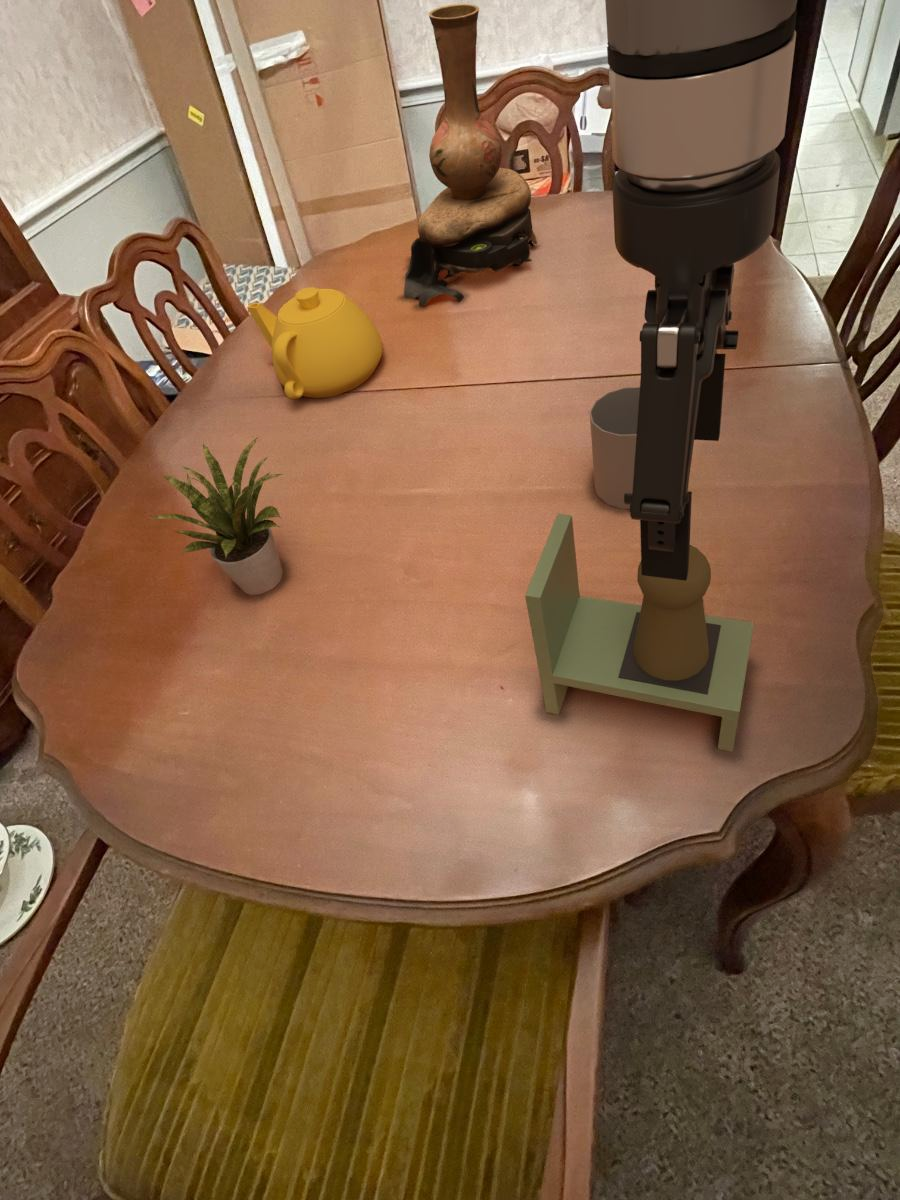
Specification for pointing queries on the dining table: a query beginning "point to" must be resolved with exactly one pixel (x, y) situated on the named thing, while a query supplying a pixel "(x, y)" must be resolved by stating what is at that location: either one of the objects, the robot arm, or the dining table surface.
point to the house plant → (233, 525)
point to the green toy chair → (622, 645)
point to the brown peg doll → (673, 622)
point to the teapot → (320, 343)
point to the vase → (466, 177)
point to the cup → (614, 444)
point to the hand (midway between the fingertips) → (683, 500)
